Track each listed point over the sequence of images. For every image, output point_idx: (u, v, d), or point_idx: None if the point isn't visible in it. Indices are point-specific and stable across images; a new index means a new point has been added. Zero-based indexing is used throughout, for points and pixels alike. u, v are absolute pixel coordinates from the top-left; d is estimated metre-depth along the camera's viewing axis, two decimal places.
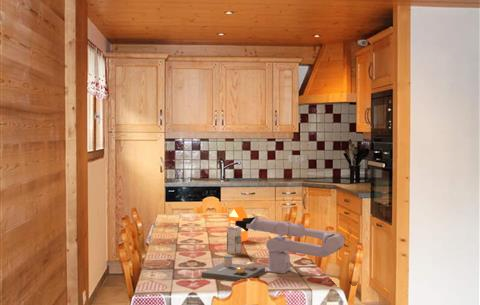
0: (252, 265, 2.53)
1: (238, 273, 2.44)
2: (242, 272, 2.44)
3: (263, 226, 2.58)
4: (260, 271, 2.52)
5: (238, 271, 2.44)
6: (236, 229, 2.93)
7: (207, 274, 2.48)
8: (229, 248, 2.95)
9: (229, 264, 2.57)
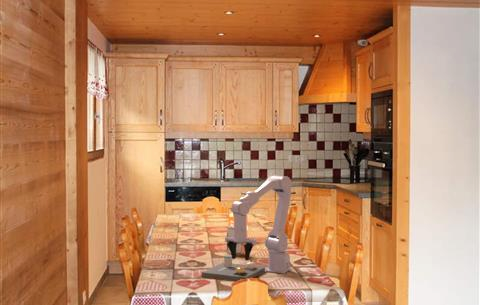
0: (252, 265, 2.53)
1: (238, 273, 2.44)
2: (242, 272, 2.44)
3: (244, 228, 2.43)
4: (260, 271, 2.52)
5: (238, 271, 2.44)
6: None
7: (207, 274, 2.48)
8: None
9: (229, 264, 2.57)
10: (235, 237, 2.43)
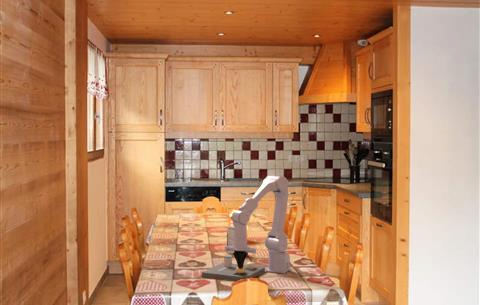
0: (252, 265, 2.53)
1: (238, 273, 2.44)
2: (242, 272, 2.44)
3: (244, 237, 2.43)
4: (260, 271, 2.52)
5: (238, 271, 2.44)
6: None
7: (207, 274, 2.48)
8: None
9: (229, 264, 2.57)
10: (235, 246, 2.43)
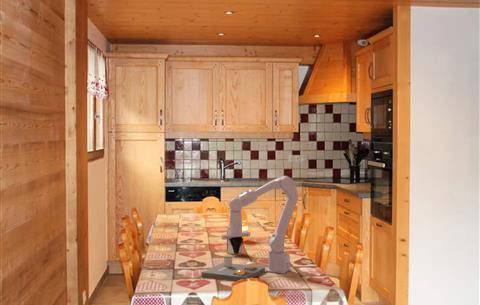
0: (252, 265, 2.53)
1: None
2: (242, 275, 2.44)
3: (236, 224, 2.54)
4: (260, 271, 2.52)
5: (238, 274, 2.44)
6: None
7: (207, 274, 2.48)
8: (229, 248, 2.95)
9: (229, 264, 2.57)
10: (237, 232, 2.54)
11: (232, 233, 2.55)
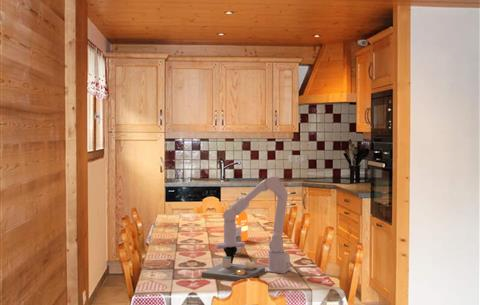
0: (252, 265, 2.53)
1: None
2: (242, 275, 2.44)
3: (229, 234, 2.57)
4: (260, 271, 2.52)
5: (238, 274, 2.44)
6: (236, 229, 2.93)
7: (207, 274, 2.48)
8: None
9: (228, 265, 2.56)
10: (230, 242, 2.57)
11: (225, 243, 2.58)
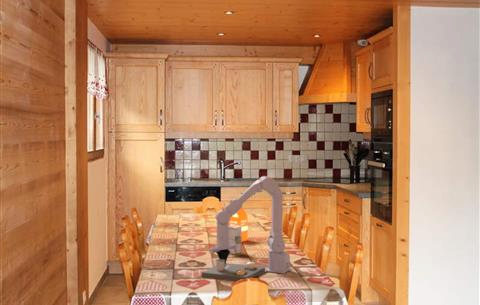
0: (252, 265, 2.53)
1: None
2: (242, 275, 2.44)
3: (223, 237, 2.51)
4: (260, 271, 2.52)
5: (238, 274, 2.44)
6: (236, 229, 2.93)
7: (207, 274, 2.48)
8: None
9: (221, 268, 2.51)
10: (224, 245, 2.52)
11: (219, 246, 2.52)
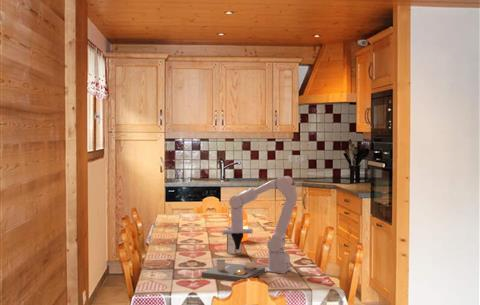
0: (252, 265, 2.53)
1: None
2: (242, 275, 2.44)
3: (234, 220, 2.61)
4: (260, 271, 2.52)
5: (238, 274, 2.44)
6: None
7: (207, 274, 2.48)
8: (229, 248, 2.95)
9: (222, 267, 2.51)
10: (235, 229, 2.61)
11: (232, 229, 2.63)
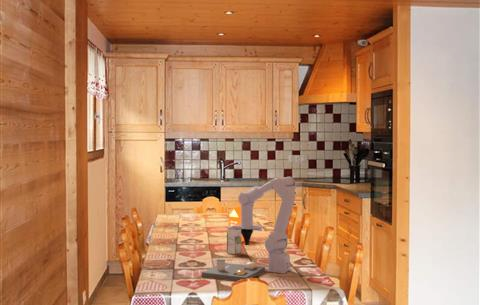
0: (252, 265, 2.53)
1: None
2: (242, 275, 2.44)
3: (242, 216, 2.69)
4: (260, 271, 2.52)
5: (238, 274, 2.44)
6: None
7: (207, 274, 2.48)
8: (229, 248, 2.95)
9: (222, 267, 2.51)
10: (243, 225, 2.69)
11: (241, 225, 2.71)
